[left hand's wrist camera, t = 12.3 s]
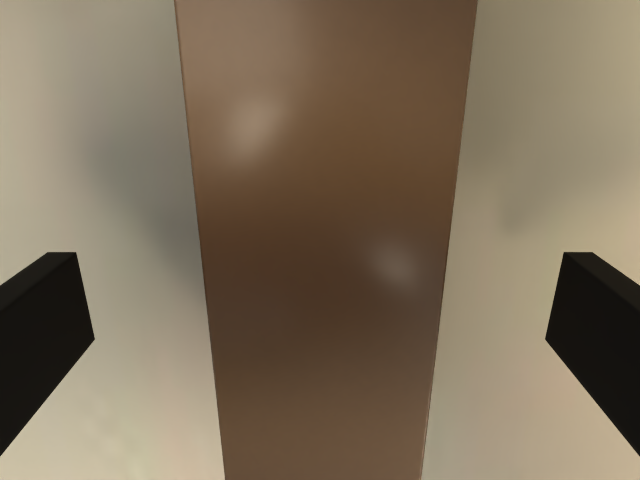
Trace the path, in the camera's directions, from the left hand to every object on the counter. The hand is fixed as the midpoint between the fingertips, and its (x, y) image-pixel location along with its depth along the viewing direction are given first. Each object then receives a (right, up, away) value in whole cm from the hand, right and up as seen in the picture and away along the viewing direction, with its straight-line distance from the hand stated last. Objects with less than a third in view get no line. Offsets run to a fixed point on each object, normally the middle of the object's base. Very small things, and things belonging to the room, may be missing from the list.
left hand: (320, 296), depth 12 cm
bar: (0, +20, -2) cm, 20 cm away
